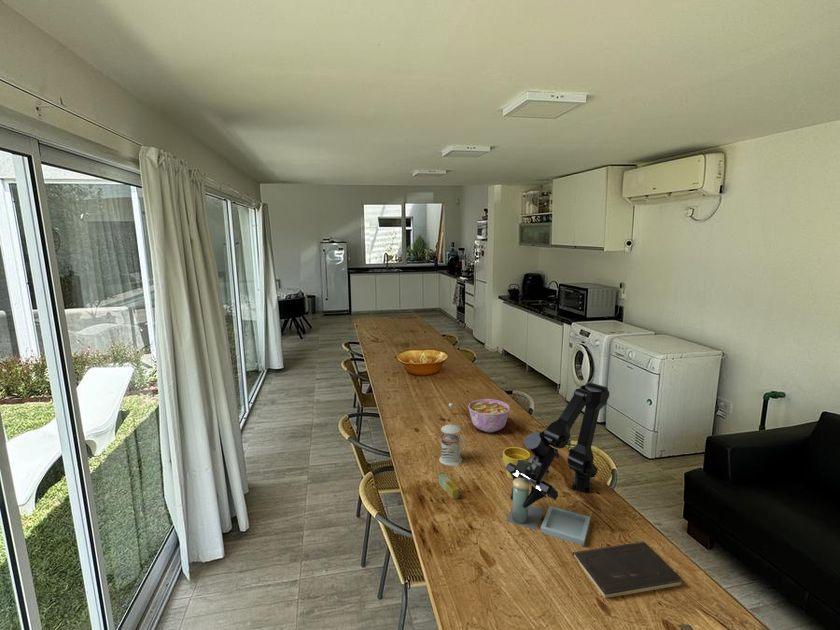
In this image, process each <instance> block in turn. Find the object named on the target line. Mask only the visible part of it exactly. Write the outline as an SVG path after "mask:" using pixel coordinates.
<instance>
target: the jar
mask: <svg viewBox="0 0 840 630" xmlns="http://www.w3.org/2000/svg"><path fill="white" fill-rule="evenodd" d="M512 488H513V500H512V508H513V511H512V519H513V521H514V522H516V523H518V524H525V523H527V521H528V507H526V508H524V507H523V505H524V503H525V501H526V499H527V497H528V496H529V494H530V483H529V481H528V480H526V479H523V478H516V479H514V480H512Z"/></svg>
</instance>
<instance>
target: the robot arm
mask: <svg viewBox="0 0 840 630" xmlns="http://www.w3.org/2000/svg"><path fill="white" fill-rule="evenodd" d="M609 398H610V391H609V388H608V387H607V386H604V385H600V384H597V383H594V382H589V383H587V384H584V385H583V384H582V385H580V386H579V388H576V389H575V390H574V391H573V396H572V397H571V399H570V400H569V401H568V404H567V405H566V406H565V408H564V410H563V411H562V413H561V414H560V416H559V418H558V419H556V420H555V421H553V422H551V423H550V424H549V425H548V426H547V427H546V429H545V430H543V431H540V430H537V429H536V430H535V431H534V432H532V433H529V434H527V435H526V436H525V438H524V440H523V441H524V446H525V447H526V448H527V450H529V451H530V452H531V453H532V454H533V458H531V457H530V459H529V461H528V462H527V461H523V460H518V463H517V466H516V465H514V464H512V463H509V464H507V466H506V467H504V470H505V471H506V470H507V471H508V472H509V473H510V474H511V476H512V477H513V480H514V479H516V478H523V479H526V480H528V481H529V484H531V489H530V491H529V496H528V497H527V499H526V501H525V503H524V505H523V507H524V508H526V507H528V506H529V505H530V506H532V504H534V503H535V502H537V501H539V500H542V499H543V498H545V499H546V498H547V497H549V498H550V499H551V500H554V501H556V500H557V498H558V496H559V492H558V490H557V489H556V488H555V487H554V486H553V485H551V484H550V483H548V482H546V481H544V480H543V479H544V477H545V475H548V474H549V473H550V470H549V469H550V467H551V465H552V464H553V462H554V460H555V458H557V459H559V457H560V454H559V450H560V449H564V448H565V447H566V446H567V445H568V443H569V440H570V438H571V430H572V427H573V426H574V423H576V421H577V419H578V417H579V416H580V414H581V413H582V412H583V410H584V412H583V415H582V416H583V417H582V420H581V423H580V424H581V425H580V430H579V434H578V438H577V442H576V445H575V446H573V447H570V449H568V450H569V451H568V456H567V463H568V467H569V470H572V471H573V472H574V477H573V478H574V479H573V482H572V485H571V489H572V490H576V491H580V492H584V493H588V494H590V493H591V490H592V487H593V483H592V481H591V479H592V478H596V475H597V474H598V472H599V471H598V467H597V466H596V465H595V464H594V458H595V456H594V453H593V451H592V445H593V442H594V437H595V433H596V432H595V431H596V428H597V423H598V420H599V414H600V411H601V410H602V408H604V406H606V405H607V402H608V400H609ZM513 480H512V481H513ZM510 500H511V501H513V487H512V489H511V494H510Z"/></svg>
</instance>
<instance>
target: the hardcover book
mask: <svg viewBox="0 0 840 630" xmlns="http://www.w3.org/2000/svg"><path fill="white" fill-rule="evenodd" d="M572 556H574V558H575V559H576V560H577V563H578V564H579V566H580V567H581V568H582V570H583V571H584V573H586V575H587V577H589V579H590V581H591V582H592V583H593V584H594V586H595V587H596V589H597V590H598V591H599V593H600V594H601V595H602V597H603V598H604V599H607V598H613V597H618V596H620V597H621V596H625V595H631V594H636V593H637V594H638V593H643V592H648V591H654V590H661V589H665V588H666V589H667V588H671V587H672V588H673V587H679V586H682V582H684V580H683V579H682V578H681V576H679V574H677V573H676V572H675V571H674V569H672V568H671V567H670V566H669V565H668V564H667V562H665V561H664V560H663V559H662V558H661V557H660V556H659V555H658V554H657V553H656V552H655V551H654V550H653V549H652V548H651V546H649V545H648V544H647V543H646V542H645V541H638V542H632V543H626V544H625V543H624V544H618V545H611V546H604V547H597V548H591V549H585V550H578V551H573V552H572Z"/></svg>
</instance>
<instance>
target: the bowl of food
mask: <svg viewBox="0 0 840 630" xmlns="http://www.w3.org/2000/svg"><path fill="white" fill-rule="evenodd" d="M468 411H469V417H470V419H471V423H472V424H473V426H474V427H475V428H476V429H478V430H480V431H482V432H485V433H495V432H497V431H500V430H501V429H503V428H505V425H506V423H507V421H508V417H509V413H510V411H511V407H510V405H509V404H508V403H506V402H504V401H502V400H498V399H492V398H490V399H489V398H482V399H475V400H473V401H471V402H469V404H468Z"/></svg>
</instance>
